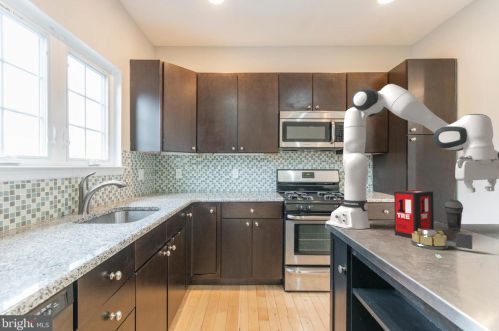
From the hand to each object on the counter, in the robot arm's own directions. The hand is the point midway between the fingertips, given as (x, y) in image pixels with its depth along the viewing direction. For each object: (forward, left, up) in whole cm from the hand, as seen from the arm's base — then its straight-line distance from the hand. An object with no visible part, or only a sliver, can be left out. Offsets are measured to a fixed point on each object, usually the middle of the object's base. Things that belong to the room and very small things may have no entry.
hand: (481, 191), depth 97 cm
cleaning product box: (-24, +5, -22) cm, 33 cm away
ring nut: (-11, -10, -20) cm, 25 cm away
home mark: (-8, -24, -22) cm, 33 cm away
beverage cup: (-14, +27, -22) cm, 37 cm away
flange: (-15, -10, -22) cm, 28 cm away
